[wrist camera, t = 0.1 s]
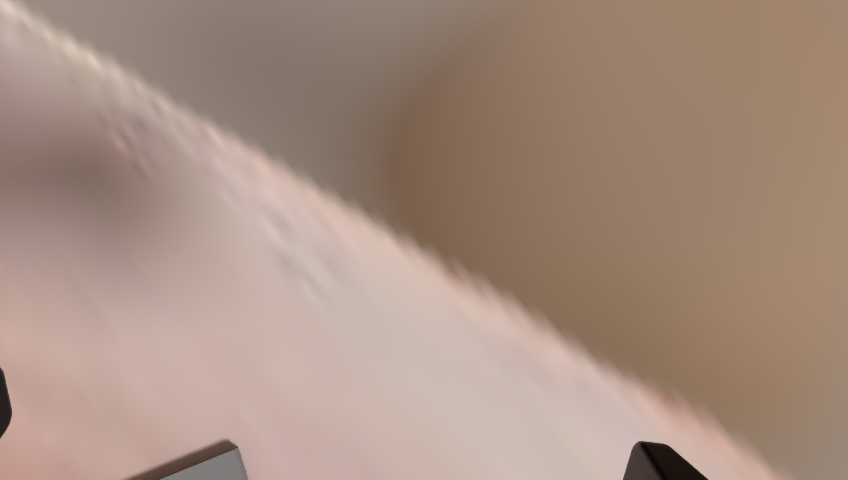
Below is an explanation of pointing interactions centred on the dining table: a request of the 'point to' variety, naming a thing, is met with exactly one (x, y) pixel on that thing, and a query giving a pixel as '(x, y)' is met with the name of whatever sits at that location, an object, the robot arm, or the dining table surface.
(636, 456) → the robot arm
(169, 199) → the dining table surface
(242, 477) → the mat
